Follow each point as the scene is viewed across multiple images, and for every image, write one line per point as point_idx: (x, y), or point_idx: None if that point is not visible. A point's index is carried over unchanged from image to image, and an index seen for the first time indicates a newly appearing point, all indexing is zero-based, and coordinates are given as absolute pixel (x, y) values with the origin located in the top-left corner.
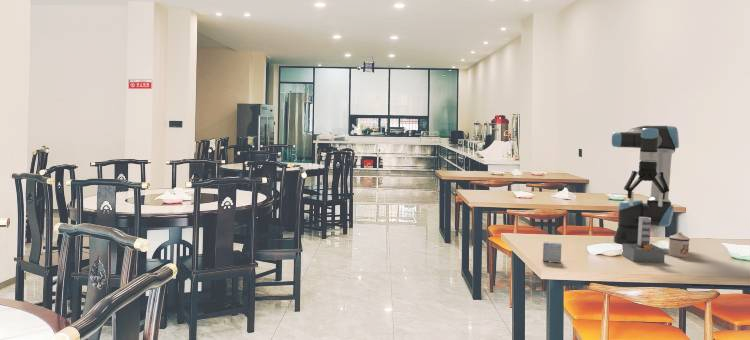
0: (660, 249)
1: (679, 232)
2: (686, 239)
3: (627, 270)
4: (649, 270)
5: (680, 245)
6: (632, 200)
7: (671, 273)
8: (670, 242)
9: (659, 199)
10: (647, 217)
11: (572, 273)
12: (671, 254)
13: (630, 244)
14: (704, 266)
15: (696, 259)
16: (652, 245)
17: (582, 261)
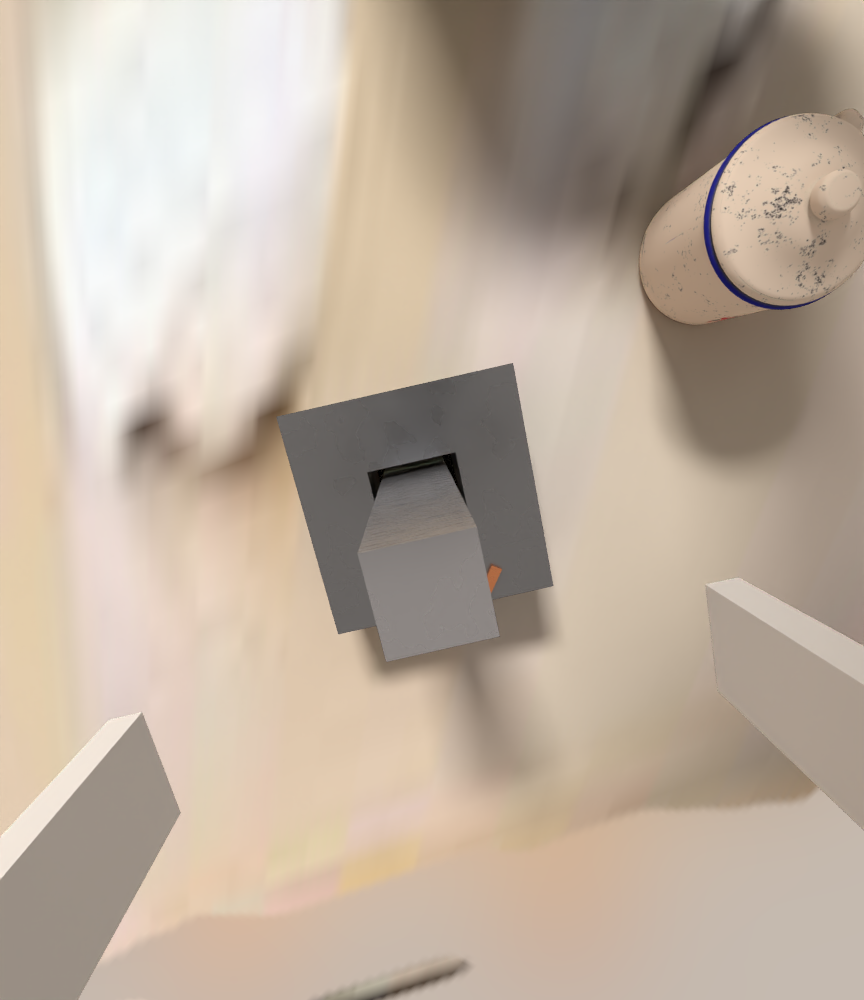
0: (527, 572)
1: (837, 206)
2: (831, 290)
3: (290, 817)
4: (404, 776)
5: (743, 311)
6: (103, 924)
7: (503, 800)
8: (689, 252)
9: (825, 713)
10: (466, 578)
11: None
12: (649, 294)
13: (334, 448)
14: (745, 566)
15: (779, 359)
16: (504, 423)
17: (48, 695)
